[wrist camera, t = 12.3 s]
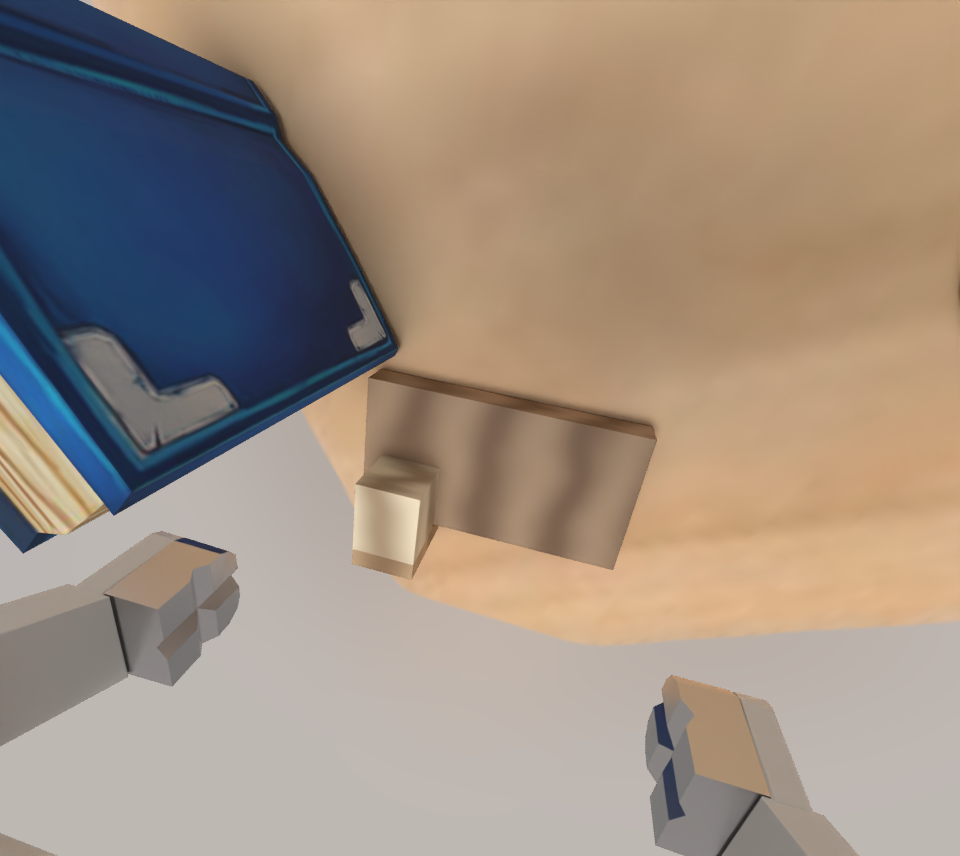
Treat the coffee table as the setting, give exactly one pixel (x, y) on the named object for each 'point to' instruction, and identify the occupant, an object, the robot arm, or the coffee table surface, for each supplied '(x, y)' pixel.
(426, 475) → the block
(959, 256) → the coffee table surface
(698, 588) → the coffee table surface
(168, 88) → the book
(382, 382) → the board
